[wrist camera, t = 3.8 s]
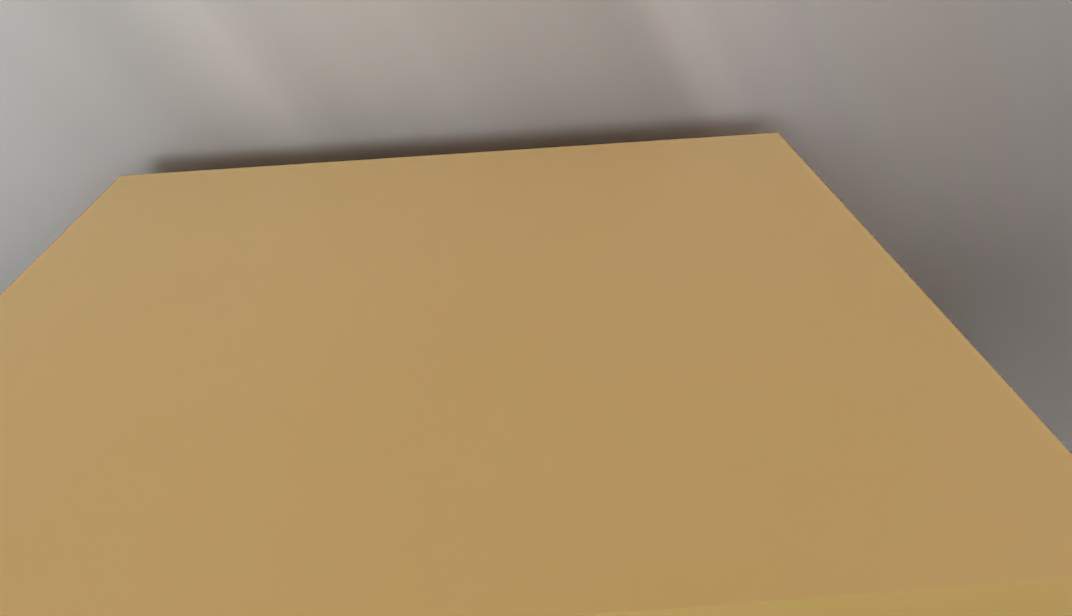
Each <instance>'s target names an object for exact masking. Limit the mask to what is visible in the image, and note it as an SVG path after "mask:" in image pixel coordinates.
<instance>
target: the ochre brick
mask: <svg viewBox="0 0 1072 616" xmlns="http://www.w3.org/2000/svg"><path fill="white" fill-rule="evenodd" d="M0 616H1072V454H1071V453H1070V452H1069V451H1068V449H1067V448H1066V447H1065V446H1064V445H1063V444H1062V443H1061V442H1060V441H1059V440H1058V438H1057V437H1056V436H1055V435H1054V434H1053V433H1052V432H1051V431H1050V430H1049V429H1048V428H1047V426H1046V425H1045V424H1044V423H1043V422H1042V421H1041V420H1040V419H1039V418H1038V417H1037V415H1036V414H1035V413H1034V412H1033V411H1032V410H1031V409H1030V408H1029V407H1028V406H1027V405H1026V403H1025V402H1024V401H1023V400H1022V399H1021V398H1020V397H1019V396H1018V395H1017V394H1016V392H1015V391H1014V390H1013V389H1012V388H1011V387H1010V386H1009V385H1008V384H1007V383H1006V382H1005V380H1004V379H1003V378H1002V377H1001V376H1000V375H999V374H998V373H997V372H996V371H995V369H994V368H993V367H992V366H991V365H990V364H989V363H988V362H987V361H986V360H985V359H984V357H983V356H982V355H981V354H980V353H979V352H978V351H977V350H976V349H975V348H974V346H973V345H972V344H971V343H970V342H969V341H968V340H967V339H966V338H965V337H964V336H963V334H962V333H961V332H960V331H959V330H958V329H957V328H956V327H955V326H954V325H953V323H952V322H951V321H950V320H949V319H948V318H947V317H946V316H945V315H944V314H943V313H942V311H941V310H940V309H939V308H938V307H937V306H936V305H935V304H934V303H933V302H932V300H931V299H930V298H929V297H928V296H927V295H926V294H925V293H924V292H923V291H922V290H921V288H920V287H919V286H918V285H917V284H916V283H915V282H914V281H913V280H912V279H911V278H910V276H909V275H908V274H907V273H906V272H905V271H904V270H903V269H902V268H901V267H900V265H899V264H898V263H897V262H896V261H895V260H894V259H893V258H892V257H891V256H890V255H889V253H888V252H887V251H886V250H885V249H884V248H883V247H882V246H881V245H880V244H879V242H878V241H877V240H876V239H875V238H874V237H873V236H872V235H871V234H870V233H869V232H868V230H867V229H866V228H865V227H864V226H863V225H862V224H861V223H860V222H859V221H858V219H857V218H856V217H855V216H854V215H853V214H852V213H851V212H850V211H849V210H848V209H847V207H846V206H845V205H844V204H843V203H842V202H841V201H840V200H839V199H838V198H837V196H836V195H835V194H834V193H833V192H832V191H831V190H830V189H829V188H828V187H827V186H826V184H825V183H824V182H823V181H822V180H821V179H820V178H819V177H818V176H817V175H816V173H815V172H814V171H813V170H812V169H811V168H810V167H809V166H808V165H807V164H806V163H805V161H804V160H803V159H802V158H801V157H800V156H799V155H798V154H797V153H796V152H795V150H794V149H793V148H792V147H791V146H790V145H789V144H788V143H787V142H786V141H785V140H784V138H783V137H782V136H781V135H780V134H779V133H763V134H748V135H733V136H718V137H703V138H687V139H672V140H657V141H642V142H626V143H611V144H596V145H581V146H565V147H550V148H535V149H520V150H504V151H489V152H474V153H459V154H443V155H428V156H413V157H398V158H383V159H367V160H352V161H337V162H322V163H306V164H291V165H276V166H261V167H245V168H230V169H215V170H200V171H184V172H169V173H154V174H139V175H124V176H120V177H119V178H118V179H117V180H116V181H115V182H114V183H113V184H112V185H111V186H110V187H109V188H108V189H107V190H106V191H105V192H104V193H103V194H102V195H101V196H100V197H99V198H98V199H97V200H96V201H95V202H94V203H93V204H92V205H91V206H90V207H89V208H88V209H87V210H86V211H85V212H83V213H82V214H81V215H80V216H79V217H78V218H77V219H76V220H75V221H74V222H73V223H72V224H71V225H70V226H69V227H68V228H67V229H66V230H65V231H64V232H63V233H62V234H61V235H60V236H59V237H58V238H57V239H56V240H55V241H54V242H53V243H52V244H51V245H50V246H49V247H48V248H47V249H46V250H45V251H44V252H43V253H42V254H41V255H40V256H39V257H38V258H37V259H36V260H35V261H34V262H33V263H32V264H31V265H30V266H29V267H28V268H27V269H26V270H25V271H24V272H23V273H22V274H21V275H20V276H19V277H18V278H17V279H16V280H15V281H14V282H13V283H12V284H11V285H10V286H9V287H8V288H7V289H6V290H5V291H4V292H3V293H2V294H1V295H0Z"/></svg>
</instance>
